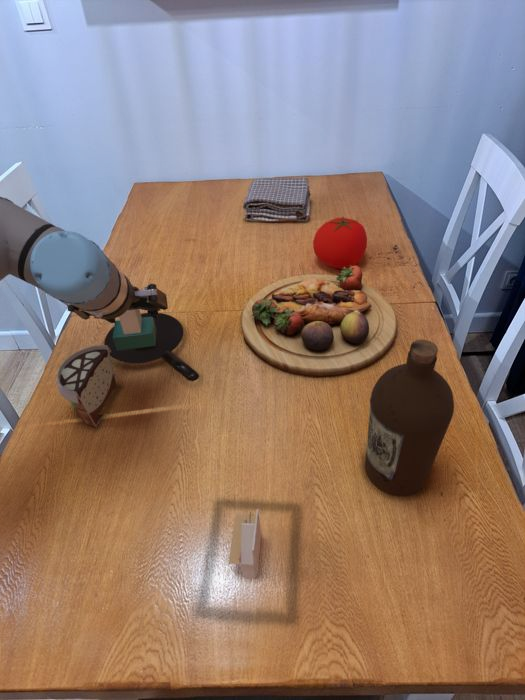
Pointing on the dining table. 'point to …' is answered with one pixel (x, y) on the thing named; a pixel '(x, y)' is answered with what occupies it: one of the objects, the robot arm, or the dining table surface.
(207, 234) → the dining table surface
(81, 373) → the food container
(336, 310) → the wooden plate
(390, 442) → the brown bottle
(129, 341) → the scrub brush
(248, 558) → the architectural model
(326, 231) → the tomato
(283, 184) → the towel
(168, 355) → the pan
